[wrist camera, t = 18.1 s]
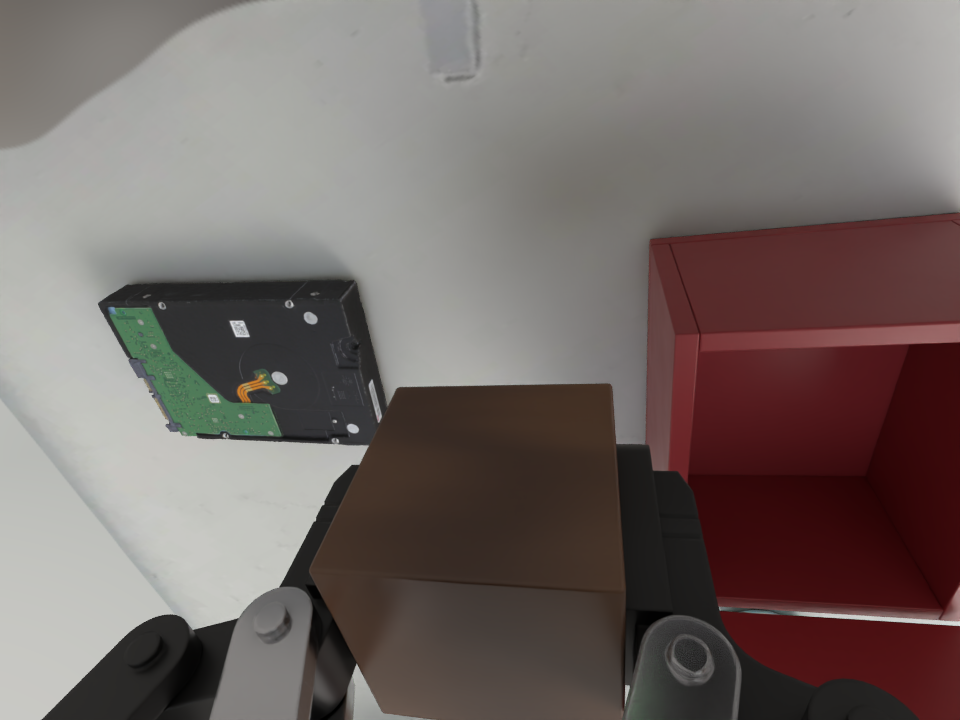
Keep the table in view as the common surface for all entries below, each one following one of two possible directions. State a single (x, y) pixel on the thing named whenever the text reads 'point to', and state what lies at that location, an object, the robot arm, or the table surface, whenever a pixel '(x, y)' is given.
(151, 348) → the disk drive
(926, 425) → the red box
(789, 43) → the table surface
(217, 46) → the table surface
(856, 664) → the box lid
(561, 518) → the block
